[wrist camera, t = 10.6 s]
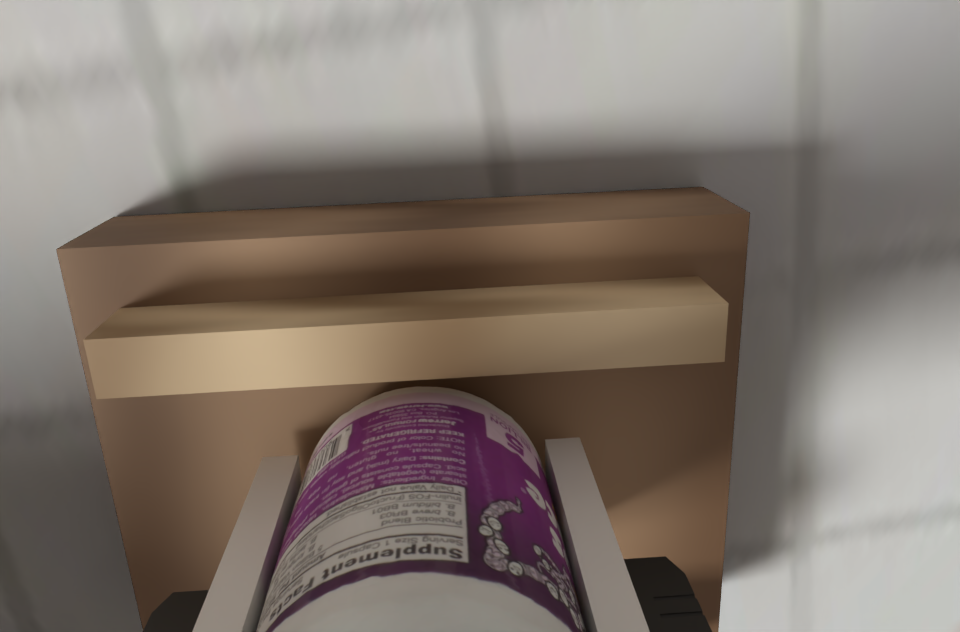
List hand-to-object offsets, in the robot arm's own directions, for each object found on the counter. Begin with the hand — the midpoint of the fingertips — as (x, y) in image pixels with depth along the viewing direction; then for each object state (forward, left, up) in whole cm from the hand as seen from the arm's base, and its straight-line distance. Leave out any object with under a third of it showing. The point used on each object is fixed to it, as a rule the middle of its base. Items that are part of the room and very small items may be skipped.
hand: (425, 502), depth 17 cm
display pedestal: (0, 0, -4) cm, 4 cm away
